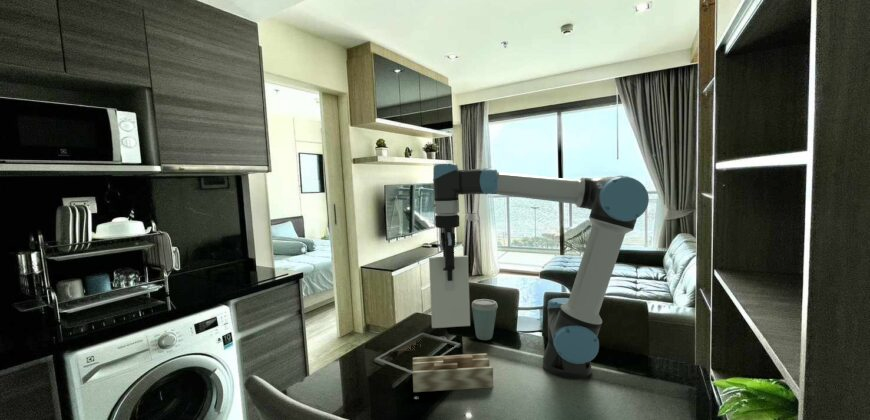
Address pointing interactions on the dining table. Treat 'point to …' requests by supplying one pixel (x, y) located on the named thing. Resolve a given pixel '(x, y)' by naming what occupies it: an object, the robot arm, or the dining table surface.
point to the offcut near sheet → (460, 360)
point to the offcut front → (445, 365)
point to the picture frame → (406, 344)
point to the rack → (451, 374)
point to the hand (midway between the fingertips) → (449, 289)
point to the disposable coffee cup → (484, 317)
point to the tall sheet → (449, 294)
